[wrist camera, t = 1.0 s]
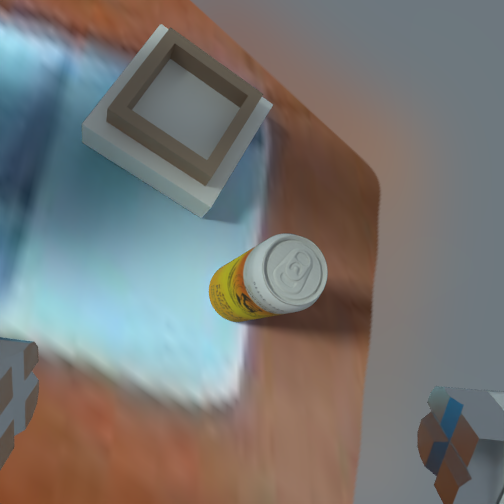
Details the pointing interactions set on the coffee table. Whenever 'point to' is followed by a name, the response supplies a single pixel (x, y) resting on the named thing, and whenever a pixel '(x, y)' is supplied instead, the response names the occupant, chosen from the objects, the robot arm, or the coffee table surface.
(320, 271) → the beer can
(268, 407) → the coffee table surface
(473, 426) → the robot arm
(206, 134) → the display plinth
